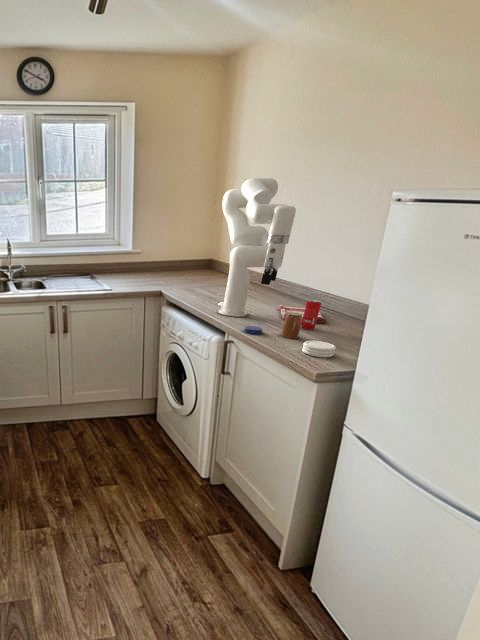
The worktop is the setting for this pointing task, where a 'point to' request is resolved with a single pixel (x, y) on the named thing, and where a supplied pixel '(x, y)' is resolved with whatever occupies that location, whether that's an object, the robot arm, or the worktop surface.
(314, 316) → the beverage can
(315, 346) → the coaster
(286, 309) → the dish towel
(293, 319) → the jam jar
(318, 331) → the worktop surface
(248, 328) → the jam lid
